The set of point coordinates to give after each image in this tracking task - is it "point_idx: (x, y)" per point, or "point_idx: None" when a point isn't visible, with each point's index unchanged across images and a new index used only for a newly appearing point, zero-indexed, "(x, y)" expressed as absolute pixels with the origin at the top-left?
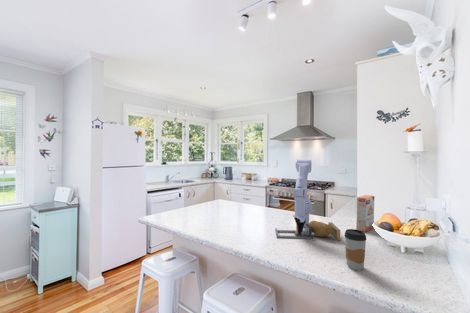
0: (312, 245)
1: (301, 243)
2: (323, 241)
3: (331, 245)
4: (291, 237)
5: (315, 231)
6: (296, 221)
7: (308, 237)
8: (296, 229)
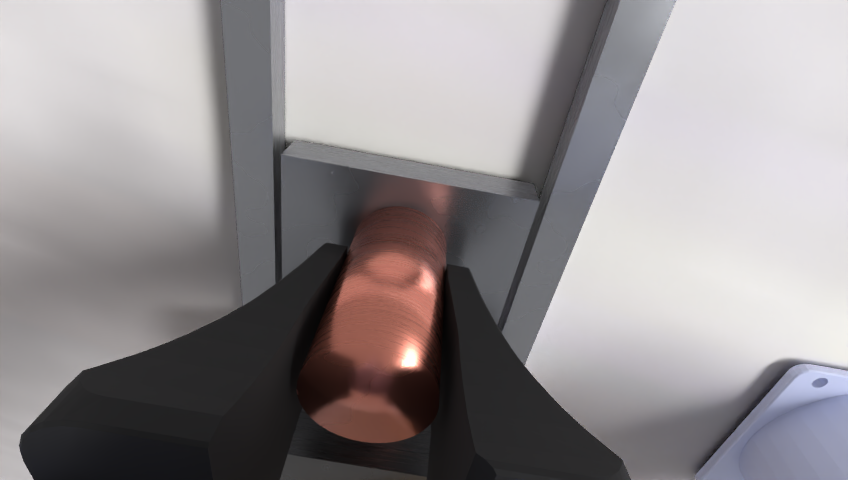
0: (8, 253)
1: (22, 129)
2: None
3: None
4: (231, 29)
5: None
6: (59, 395)
7: None
8: (384, 242)
